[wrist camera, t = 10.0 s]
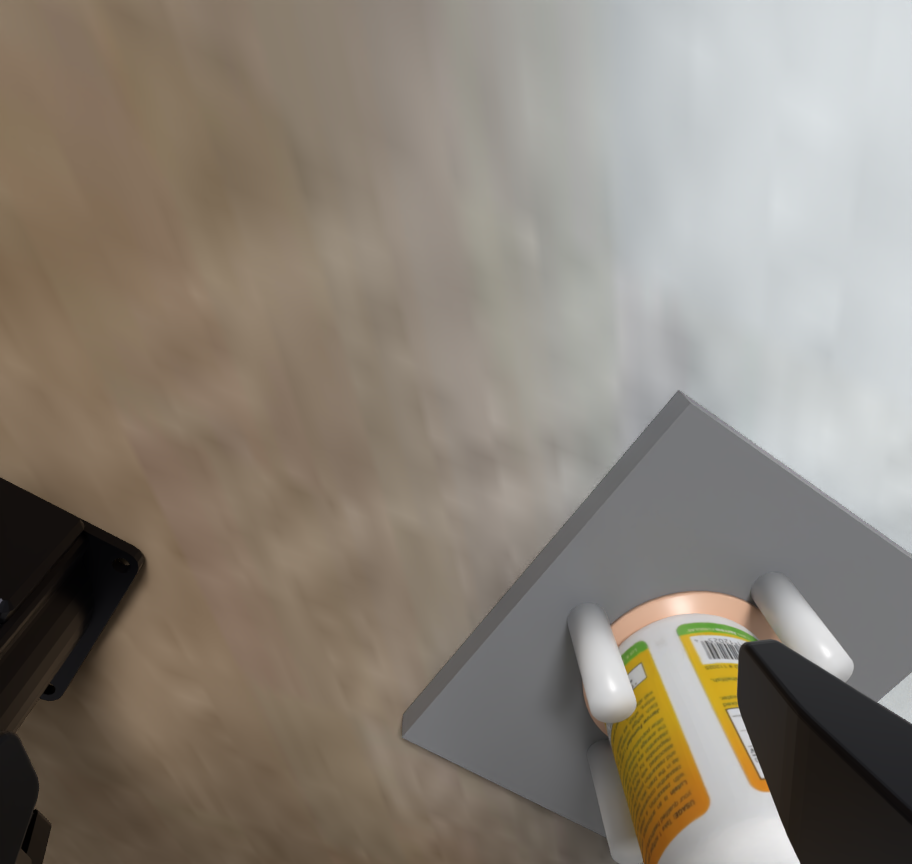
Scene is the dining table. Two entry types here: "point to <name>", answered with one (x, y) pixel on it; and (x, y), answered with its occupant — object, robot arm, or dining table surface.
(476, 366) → the dining table surface
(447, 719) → the pin tray
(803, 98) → the dining table surface
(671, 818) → the supplement bottle
